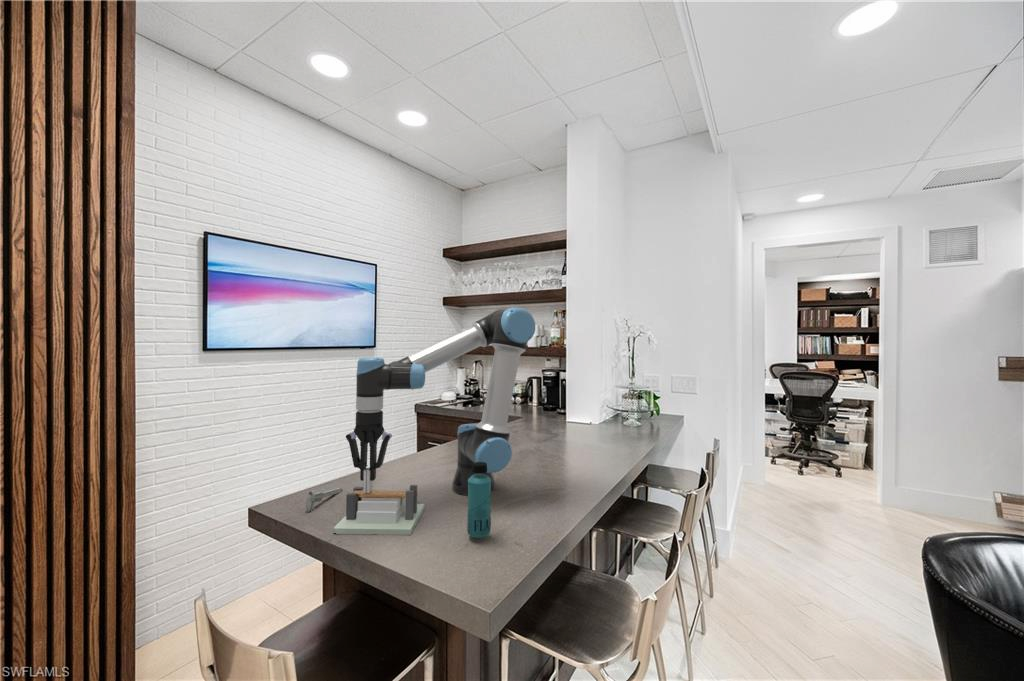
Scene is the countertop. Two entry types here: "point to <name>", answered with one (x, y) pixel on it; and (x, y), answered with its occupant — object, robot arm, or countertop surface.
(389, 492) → the bar
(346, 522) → the processor board
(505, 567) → the countertop surface
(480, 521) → the beverage bottle
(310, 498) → the caliper
